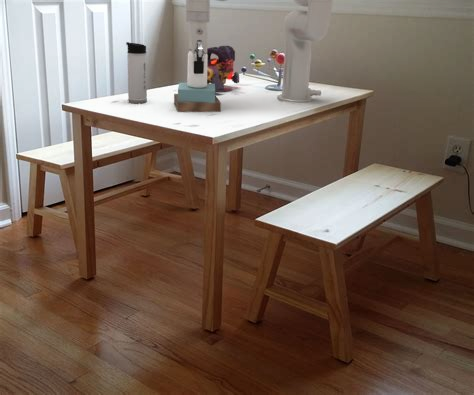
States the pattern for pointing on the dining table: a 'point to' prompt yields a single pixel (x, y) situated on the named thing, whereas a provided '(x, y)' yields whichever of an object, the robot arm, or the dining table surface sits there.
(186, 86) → the tower top block
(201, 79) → the can
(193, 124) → the dining table surface
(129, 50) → the travel mug
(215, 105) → the tower base block
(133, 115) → the dining table surface
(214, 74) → the figurine
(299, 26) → the robot arm
